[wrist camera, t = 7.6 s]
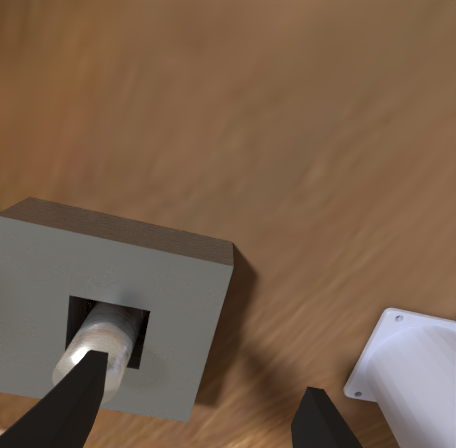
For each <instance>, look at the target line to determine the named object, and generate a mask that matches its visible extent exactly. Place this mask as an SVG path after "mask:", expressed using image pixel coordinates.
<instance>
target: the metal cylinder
mask: <svg viewBox="0 0 456 448" xmlns="http://www.w3.org/2000/svg"><path fill="white" fill-rule="evenodd" d="M146 311H147V310H143V309H138V308H133V307H128V306H122V305H117V304H112V303H107V302H102V301H97V302H96V304H95V305H94V307H93V308H92V310H91V312H90V313H89V315H88V316H87V318H86V320H85V321H84V323H83V324H82V326H81V327H80V329H79V331H78V332H77V334H76V335H75V337H74V339H73V340H72V342H71V343H70V345H69V346H68V348H67V350H66V351H65V353H64V354H63V356H62V358H61V359H60V361H59V362H58V364H57V365H56V367H55V369H54V371H53V374H52V380H53V384H54V386H56V385H57V384H58V383H59V382H60V381H61V380H62V379H63V378H64V377H65V376H66V375H67V374H68V373H69V371H70V370H71V369H72V368H73V367H74V366H75V365H76V364H77V363H78V362H79V361H80V360H81V358H82V357H83V356H84V355H85V354H86V353H87V352H88V351H89V350H96V351H102V352H108V353H109V355H108V363H107V372H106V380H105V388H104V396H103V398H102V401H101V404H103V403H106V402H108V401H109V400H111V399H112V398H113V397H114V396H115V395H116V393H117V391H118V389H119V386H120V383H121V381H122V378H123V375H124V372H125V370H126V367H127V364H128V361H129V359H130V356H131V353H132V351H133V348H134V345H135V342H136V340H137V337H138V334H139V331H140V329H141V326H142V323H143V320H144V318H145V315H146Z"/></svg>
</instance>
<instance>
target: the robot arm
mask: <svg viewBox="0 0 456 448" xmlns="http://www.w3.org/2000/svg"><path fill="white" fill-rule="evenodd" d="M397 316H399V317H398V318H396V317H397ZM108 355H109V353H108V352H102V351H96V350H89V351H88V352H87V353H86V354H85V355H84V356H83V357H82V358H81V360H80V361H79V362H78V363H77V364H76V365H75V366H74V367H73V368H72V369H71V370H70V371H69V373H68V374H67V375H66V376H65V377H64V378H63V379H62V380H61V381H60V382H59V383H58V384H57V385H56V386H55V387H54V388H53V389H52V390H51V391H50V392H48V393H47V394H46V395H45V396H44V397H43V398H42V399H41V400H40V401H39V402H38V403H37V404H36V405H35V406H34V407H33V408H31V409H30V410H29V411H28V412H27V413H26V414H25V415H24V416H22V417H21V418H20V419H19V420H18V421H17V422H16V423H15V424H13V425H12V426H11V427H10V428H9V429H8V430H7V431H5V432H4V433H3V434H2V435H1V436H0V448H83V446H84V444H85V442H86V440H87V437H88V435H89V433H90V431H91V429H92V426H93V424H94V421H95V418H96V415H97V413H98V410H99V407H100V404H101V401H102V398H103V396H104V388H105V380H106V372H107V363H108ZM343 390H344V393H345V395H346V396H347V397H350V398H356V399H361V400H367V401H372V402H377V403H378V405H379V407H380V409H381V411H382V413H383V415H384V417H385V419H386V421H387V423H388V425H389V427H390V429H391V431H392V433H393V435H394V437H395V439H396V441H397V443H398V445H399V447H400V448H456V321H453V320H448V319H443V318H438V317H434V316H429V315H424V314H420V313H415V312H410V311H405V310H401V309H396V308H388V309H386V310H385V311H384V312H383V313H382V315H381V317H380V319H379V321H378V323H377V325H376V327H375V329H374V331H373V333H372V335H371V337H370V339H369V340H368V342H367V344H366V346H365V348H364V350H363V352H362V354H361V356H360V358H359V360H358V362H357V364H356V366H355V367H354V369H353V371H352V373H351V375H350V377H349V379H348V381H347V383H346V385H345V387H344V389H343ZM291 432H292V443H293V448H363V447H362V446H361V444H360V443H359V441H358V440H357V438H356V437H355V435H354V434H353V433H352V431H351V430H350V428H349V427H348V425H347V424H346V422H345V421H344V419H343V418H342V416H341V415H340V413H339V412H338V410H337V409H336V407H335V406H334V404H333V403H332V401H331V400H330V398H329V397H328V395H327V394H326V392H325V391H324V389H319V388H313V387H307V389H306V392H305V394H304V396H303V399H302V401H301V403H300V405H299V408H298V410H297V412H296V415H295V417H294V419H293V421H292V424H291Z"/></svg>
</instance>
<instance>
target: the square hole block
mask: <svg viewBox="0 0 456 448" xmlns="http://www.w3.org/2000/svg"><path fill="white" fill-rule="evenodd" d="M233 268H234V260H233V243H232V242H229V241H224V240H220V239H215V238H211V237H206V236H202V235H197V234H193V233H188V232H184V231H179V230H175V229H170V228H166V227H161V226H157V225H152V224H148V223H143V222H139V221H135V220H130V219H126V218H121V217H117V216H112V215H108V214H103V213H99V212H94V211H90V210H85V209H81V208H76V207H72V206H67V205H63V204H58V203H54V202H49V201H45V200H40V199H36V198H31V197H29V198H27V199H25V200H23V201H21V202H19V203H17V204H15V205H13V206H11V207H10V208H8V209H6V210H4V211H2V212H0V392H3V393H9V394H15V395H21V396H27V397H34V398H40V399H42V398H43V397H44V396H45V395H46V394H47V393H48V392H50V391H51V390H52V389H53V388H54V387H55V386H54V384H53V380H52V374H53V371H54V369H55V367H56V365H57V364H58V362H59V361H60V359H61V358H62V356H63V354H64V353H65V351H66V350H67V348H68V346H69V345H70V343H71V342H72V340H73V339H74V337H75V335H76V334H77V332H78V331H79V329H80V327H81V326H82V324H83V323H84V321H85V319H86V309H87V300H88V299H92V300H97V301H102V302H107V303H112V304H117V305H122V306H128V307H133V308H138V309H143V310H148V311H150V315H149V321H148V326H147V331H146V334H141V333H139V334H138V337H137V340H136V342H135V345H134V348H133V351H132V353H131V356H130V359H129V361H128V364H127V367H126V370H125V372H124V375H123V378H122V381H121V383H120V386H119V389H118V391H117V393H116V395H115V396H114V397H113V398H112V399H111V400H109V401H108V402H106V403H103V404H100V407H99V408H102V409H108V410H114V411H121V412H127V413H133V414H139V415H145V416H152V417H158V418H164V419H170V420H176V421H183V422H189V419H190V415H191V412H192V408H193V405H194V401H195V398H196V395H197V391H198V388H199V384H200V381H201V377H202V374H203V371H204V367H205V364H206V360H207V357H208V354H209V350H210V347H211V343H212V340H213V336H214V333H215V330H216V326H217V323H218V319H219V316H220V312H221V309H222V306H223V302H224V299H225V295H226V292H227V288H228V285H229V282H230V278H231V275H232V271H233Z"/></svg>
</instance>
